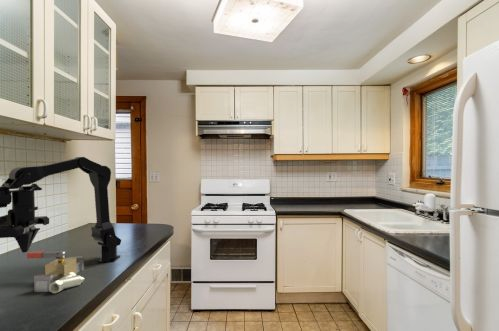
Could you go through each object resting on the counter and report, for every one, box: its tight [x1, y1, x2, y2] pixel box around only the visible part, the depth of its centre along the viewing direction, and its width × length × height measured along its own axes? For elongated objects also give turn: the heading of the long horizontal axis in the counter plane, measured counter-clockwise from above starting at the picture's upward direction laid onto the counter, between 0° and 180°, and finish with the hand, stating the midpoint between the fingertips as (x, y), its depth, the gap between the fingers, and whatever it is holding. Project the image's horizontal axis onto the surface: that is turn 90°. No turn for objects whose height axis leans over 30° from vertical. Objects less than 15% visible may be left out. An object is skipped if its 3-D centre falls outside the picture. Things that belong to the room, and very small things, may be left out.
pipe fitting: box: [49, 272, 85, 294], centre depth 87 cm, size 8×4×7 cm
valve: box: [33, 256, 85, 293], centre depth 93 cm, size 18×6×8 cm, turn 1°
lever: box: [26, 249, 68, 260], centre depth 93 cm, size 13×3×2 cm, turn 91°
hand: (24, 252), depth 88 cm, fingers closed
